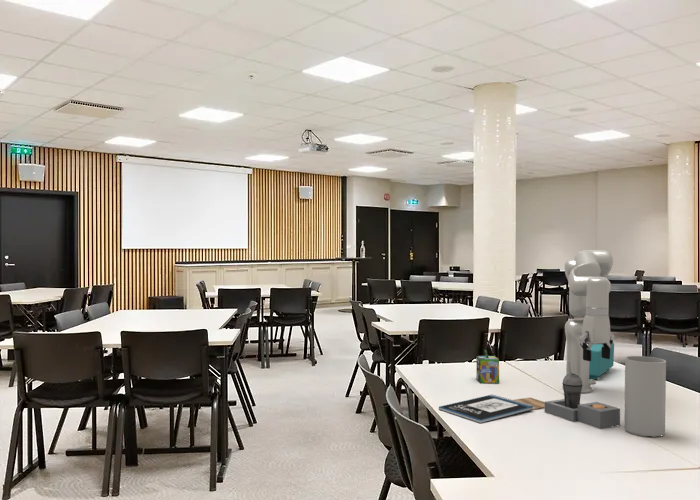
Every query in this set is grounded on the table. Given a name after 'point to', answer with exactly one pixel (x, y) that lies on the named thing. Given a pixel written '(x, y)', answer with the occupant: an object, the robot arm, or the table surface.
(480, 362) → the chalk box
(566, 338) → the robot arm
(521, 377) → the table surface
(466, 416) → the sketchbook
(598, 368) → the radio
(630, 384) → the cylinder vase
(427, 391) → the table surface
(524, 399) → the pad
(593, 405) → the brown egg
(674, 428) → the table surface
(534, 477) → the table surface
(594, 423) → the grey hollow tray
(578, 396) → the beverage cup
